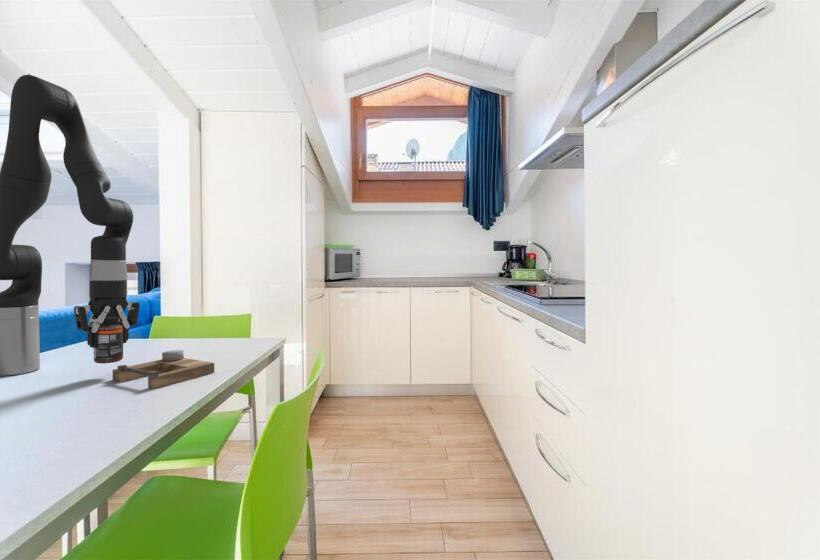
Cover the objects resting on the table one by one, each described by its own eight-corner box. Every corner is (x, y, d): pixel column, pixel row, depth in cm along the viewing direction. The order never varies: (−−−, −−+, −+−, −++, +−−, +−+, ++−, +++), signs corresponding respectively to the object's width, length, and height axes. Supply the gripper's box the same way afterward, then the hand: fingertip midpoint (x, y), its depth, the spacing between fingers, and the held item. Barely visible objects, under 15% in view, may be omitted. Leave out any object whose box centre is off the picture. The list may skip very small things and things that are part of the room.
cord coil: (158, 361, 106) (157, 354, 106) (170, 357, 111) (170, 350, 111) (175, 361, 106) (175, 353, 106) (187, 356, 111) (187, 349, 111)
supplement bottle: (107, 357, 103) (108, 314, 103) (129, 359, 103) (129, 315, 102) (86, 363, 97) (87, 317, 97) (109, 364, 97) (109, 318, 97)
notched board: (112, 379, 98) (111, 364, 98) (174, 365, 112) (174, 352, 112) (153, 388, 91) (152, 372, 91) (214, 372, 106) (214, 358, 105)
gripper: (129, 277, 107) (129, 339, 108) (65, 278, 94) (65, 348, 95) (147, 278, 104) (147, 342, 105) (83, 279, 91) (83, 352, 92)
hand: (108, 344), depth 100 cm, fingers closed on supplement bottle, 6 cm apart
